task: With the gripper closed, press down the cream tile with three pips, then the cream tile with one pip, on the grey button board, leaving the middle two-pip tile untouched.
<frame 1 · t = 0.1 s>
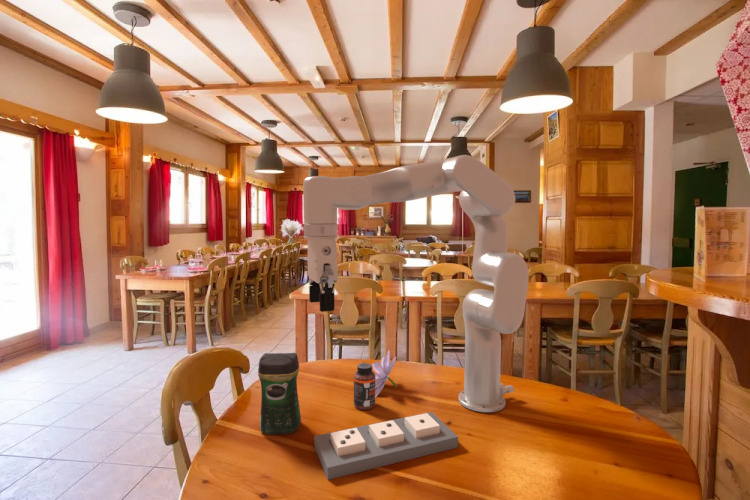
hand: (321, 306, 91), 31 cm above the table, tool pointing down, fingers open, 9 cm apart
water lily: (379, 388, 119), on the table
tile 3: (347, 442, 85), point 3 cm above the table, slide at 0.0 cm
coffee jar: (280, 428, 97), on the table
supplement bottle: (364, 406, 108), on the table
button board: (386, 446, 89), on the table
tile 2: (386, 433, 88), point 3 cm above the table, slide at 0.0 cm
tile 1: (421, 426, 91), point 3 cm above the table, slide at 0.0 cm
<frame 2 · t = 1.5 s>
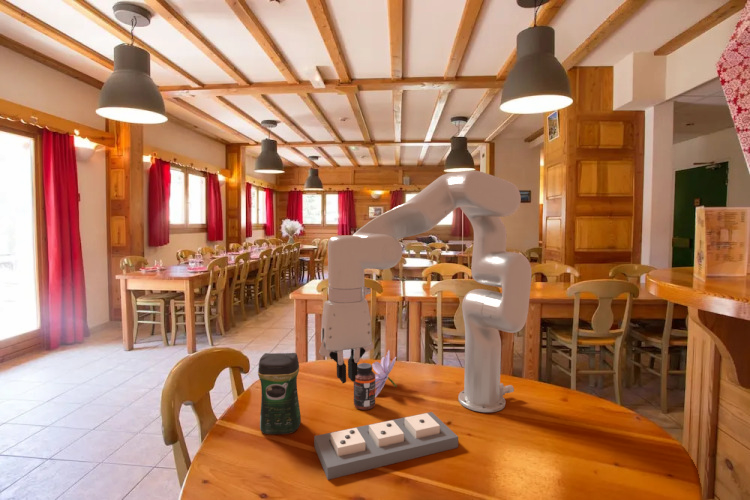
hand: (347, 379, 84), 17 cm above the table, tool pointing down, fingers closed
nothing on the table moved.
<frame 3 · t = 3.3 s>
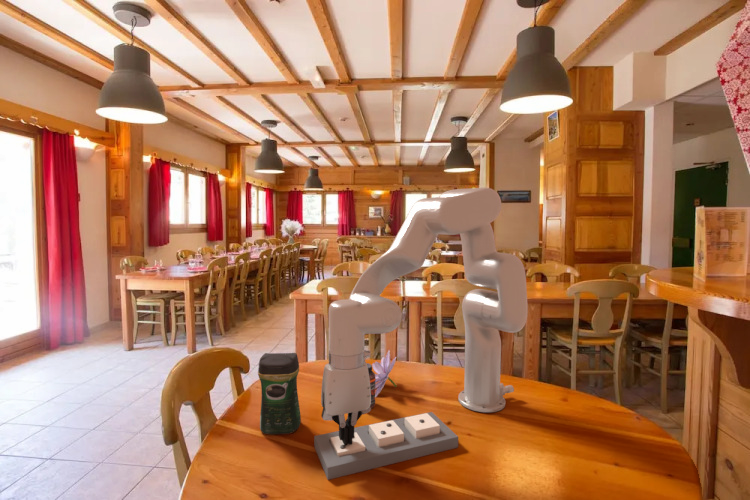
hand: (346, 441, 85), 3 cm above the table, tool pointing down, fingers closed
tile 3: (347, 446, 85), point 2 cm above the table, slide at 1.1 cm, touching gripper
everything else where it was.
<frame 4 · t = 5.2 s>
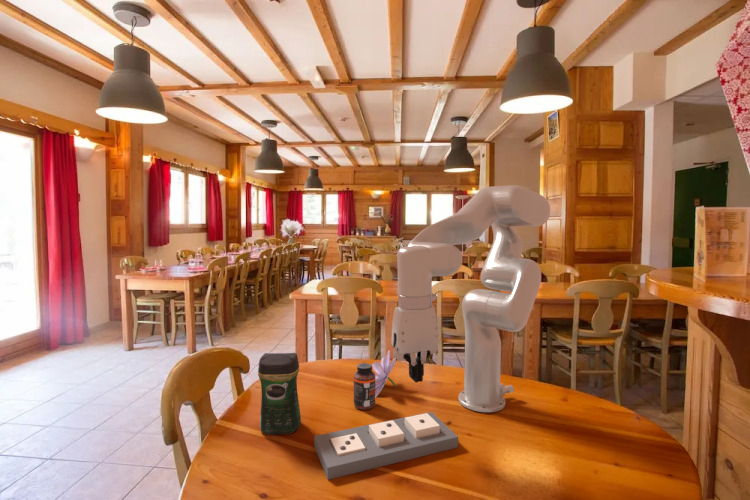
hand: (416, 379, 90), 14 cm above the table, tool pointing down, fingers closed
tile 3: (347, 447, 85), point 2 cm above the table, slide at 1.3 cm
everything else where it was.
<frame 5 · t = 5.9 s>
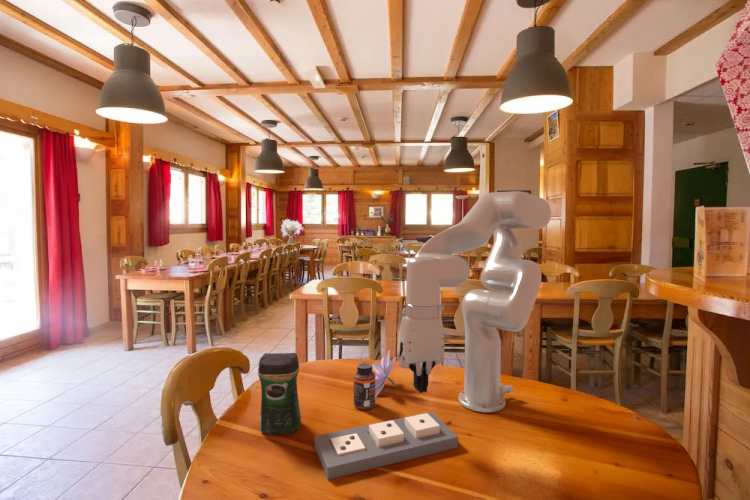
hand: (420, 389, 90), 12 cm above the table, tool pointing down, fingers closed
nothing on the table moved.
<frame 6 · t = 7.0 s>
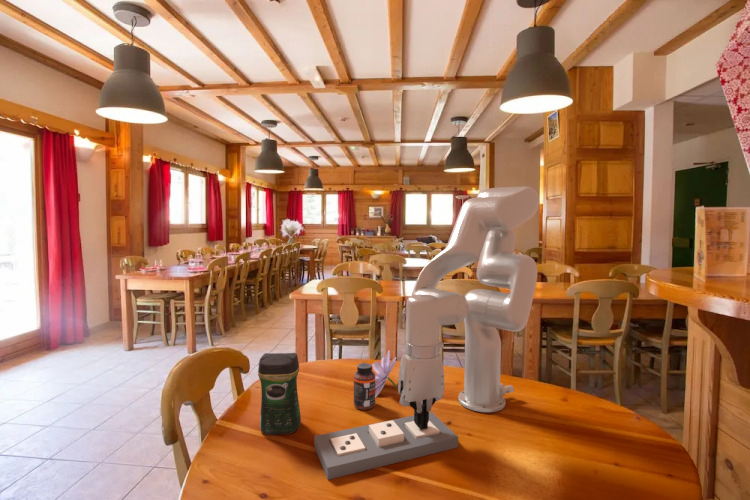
hand: (421, 426, 91), 3 cm above the table, tool pointing down, fingers closed
tile 1: (421, 431, 92), point 2 cm above the table, slide at 1.3 cm, touching gripper
everything else where it was.
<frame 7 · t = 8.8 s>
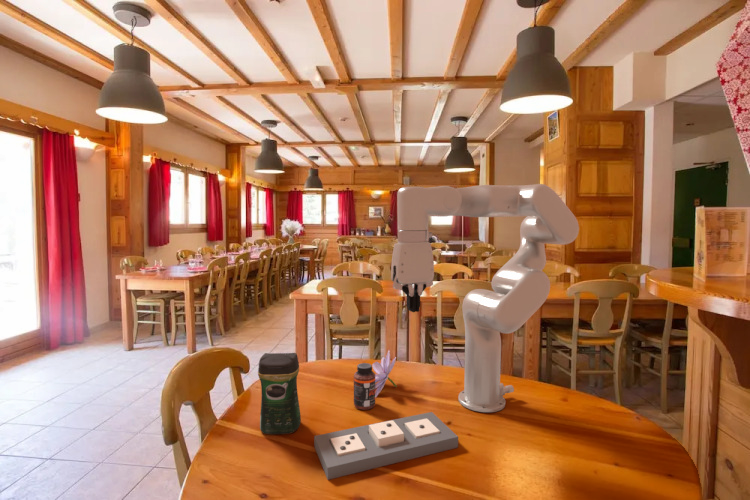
hand: (413, 310, 98), 28 cm above the table, tool pointing down, fingers closed
tile 1: (421, 431, 92), point 2 cm above the table, slide at 1.3 cm
everything else where it was.
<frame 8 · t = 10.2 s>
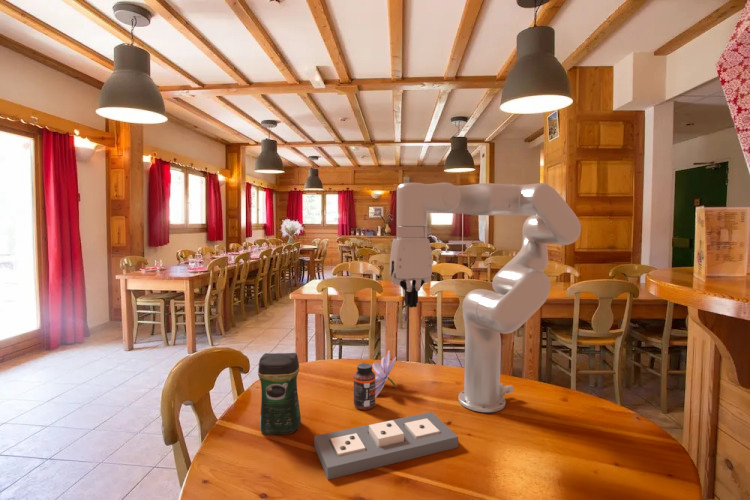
hand: (411, 306, 99), 29 cm above the table, tool pointing down, fingers closed
nothing on the table moved.
at the end: tile 3 slide at 1.3 cm; tile 1 slide at 1.3 cm; tile 2 slide at 0.0 cm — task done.
